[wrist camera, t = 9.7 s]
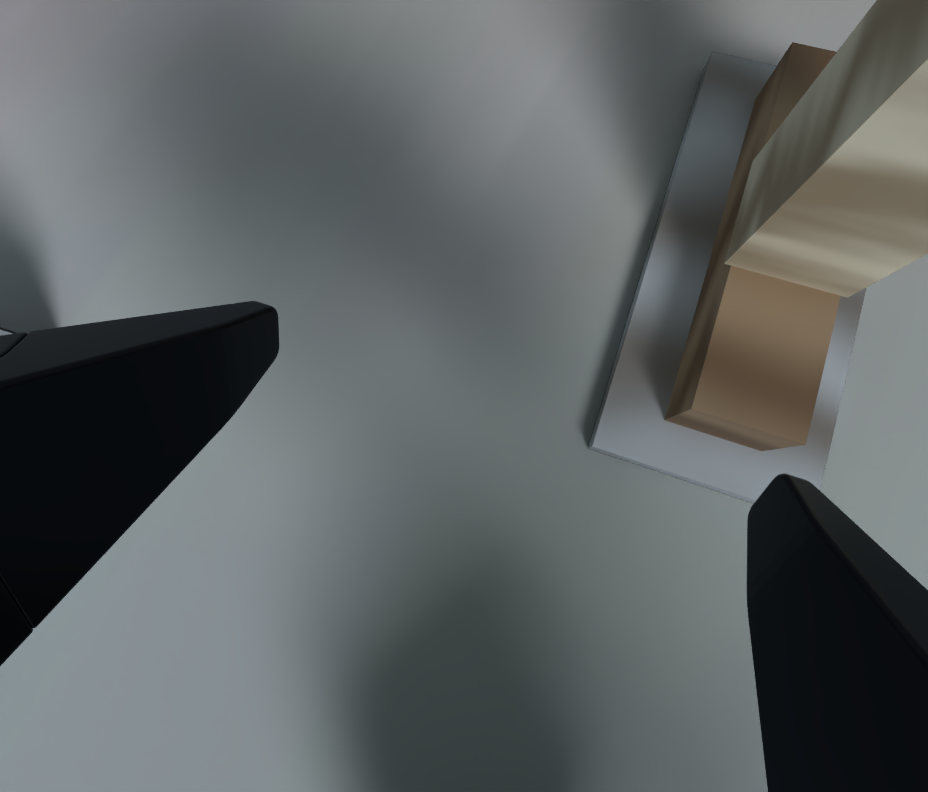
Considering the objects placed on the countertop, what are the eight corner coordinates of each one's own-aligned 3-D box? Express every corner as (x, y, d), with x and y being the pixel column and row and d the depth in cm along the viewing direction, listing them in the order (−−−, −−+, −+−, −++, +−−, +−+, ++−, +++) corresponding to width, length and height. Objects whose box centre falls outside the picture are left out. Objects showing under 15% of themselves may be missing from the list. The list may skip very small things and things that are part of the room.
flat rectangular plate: (798, 518, 21) (868, 524, 17) (588, 448, 22) (607, 439, 18) (892, 112, 24) (971, 37, 20) (703, 68, 25) (742, -10, 21)
